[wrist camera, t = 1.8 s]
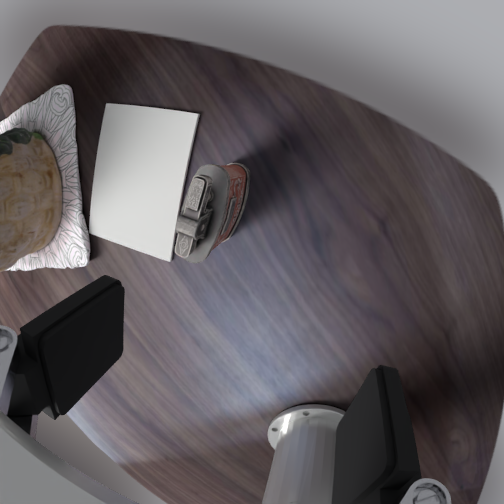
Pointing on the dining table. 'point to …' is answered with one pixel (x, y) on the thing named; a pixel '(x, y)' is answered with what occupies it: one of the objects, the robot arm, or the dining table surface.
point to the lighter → (211, 209)
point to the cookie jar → (41, 186)
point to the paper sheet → (141, 176)
